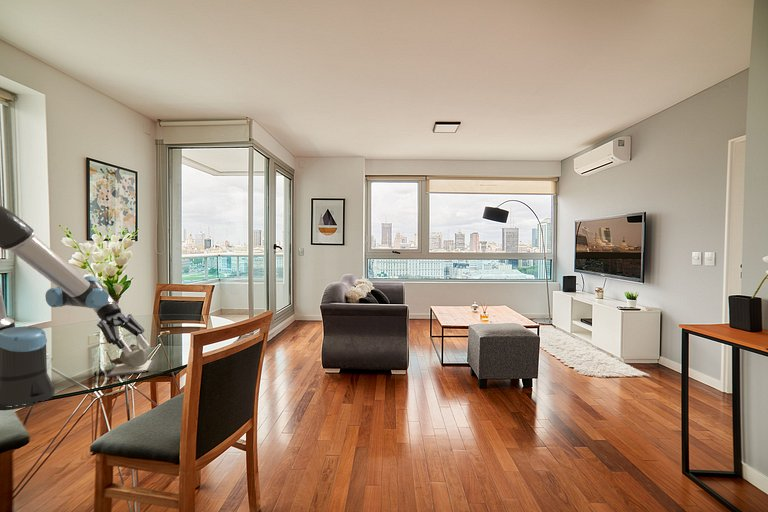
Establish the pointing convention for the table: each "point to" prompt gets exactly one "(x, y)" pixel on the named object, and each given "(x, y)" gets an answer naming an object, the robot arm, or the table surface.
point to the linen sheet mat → (128, 369)
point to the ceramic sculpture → (132, 357)
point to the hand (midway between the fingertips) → (138, 350)
